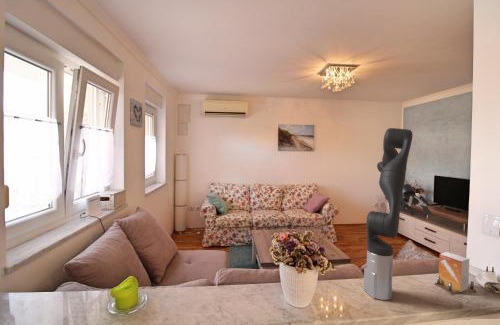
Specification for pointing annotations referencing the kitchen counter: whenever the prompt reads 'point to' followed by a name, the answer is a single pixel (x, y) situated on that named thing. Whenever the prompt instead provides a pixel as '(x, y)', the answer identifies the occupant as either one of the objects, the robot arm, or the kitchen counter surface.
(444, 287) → the pin plate
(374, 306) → the kitchen counter surface
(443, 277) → the small box
